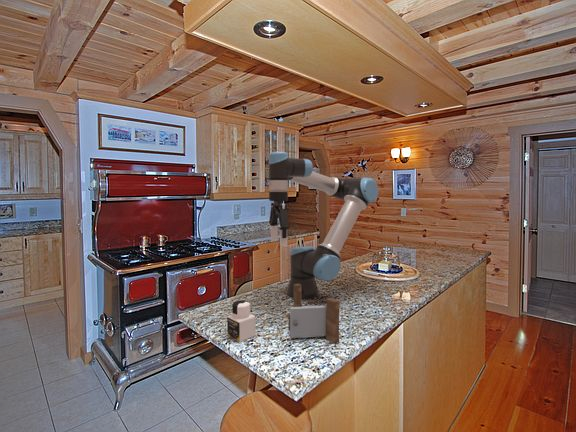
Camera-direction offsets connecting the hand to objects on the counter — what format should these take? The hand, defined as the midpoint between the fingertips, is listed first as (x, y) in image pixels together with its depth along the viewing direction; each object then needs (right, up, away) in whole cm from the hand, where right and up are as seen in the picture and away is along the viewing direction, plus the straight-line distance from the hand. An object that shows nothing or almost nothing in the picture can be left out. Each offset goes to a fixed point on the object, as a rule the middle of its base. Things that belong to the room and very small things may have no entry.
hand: (278, 243), depth 131 cm
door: (+11, -30, -21) cm, 39 cm away
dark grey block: (+8, -30, -16) cm, 35 cm away
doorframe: (+14, -30, -15) cm, 36 cm away
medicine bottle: (-12, -31, -19) cm, 38 cm away
